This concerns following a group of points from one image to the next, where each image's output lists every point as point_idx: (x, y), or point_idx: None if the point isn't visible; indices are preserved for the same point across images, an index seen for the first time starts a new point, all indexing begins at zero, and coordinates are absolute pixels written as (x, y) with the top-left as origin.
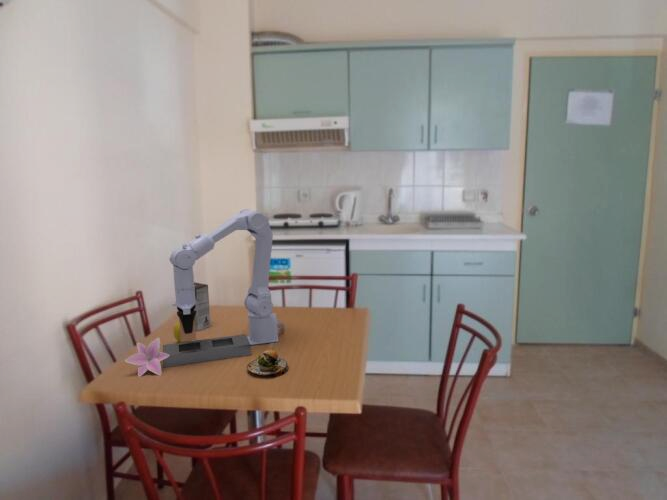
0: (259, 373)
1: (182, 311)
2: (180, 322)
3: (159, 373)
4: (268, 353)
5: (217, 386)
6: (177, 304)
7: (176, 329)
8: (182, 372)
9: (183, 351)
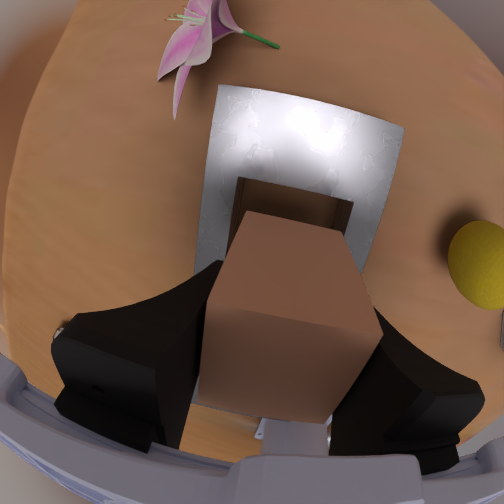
0: (55, 334)
1: (129, 409)
2: (214, 289)
3: (159, 73)
4: None
5: (34, 238)
6: (133, 501)
7: (492, 245)
8: (141, 160)
9: (230, 198)
